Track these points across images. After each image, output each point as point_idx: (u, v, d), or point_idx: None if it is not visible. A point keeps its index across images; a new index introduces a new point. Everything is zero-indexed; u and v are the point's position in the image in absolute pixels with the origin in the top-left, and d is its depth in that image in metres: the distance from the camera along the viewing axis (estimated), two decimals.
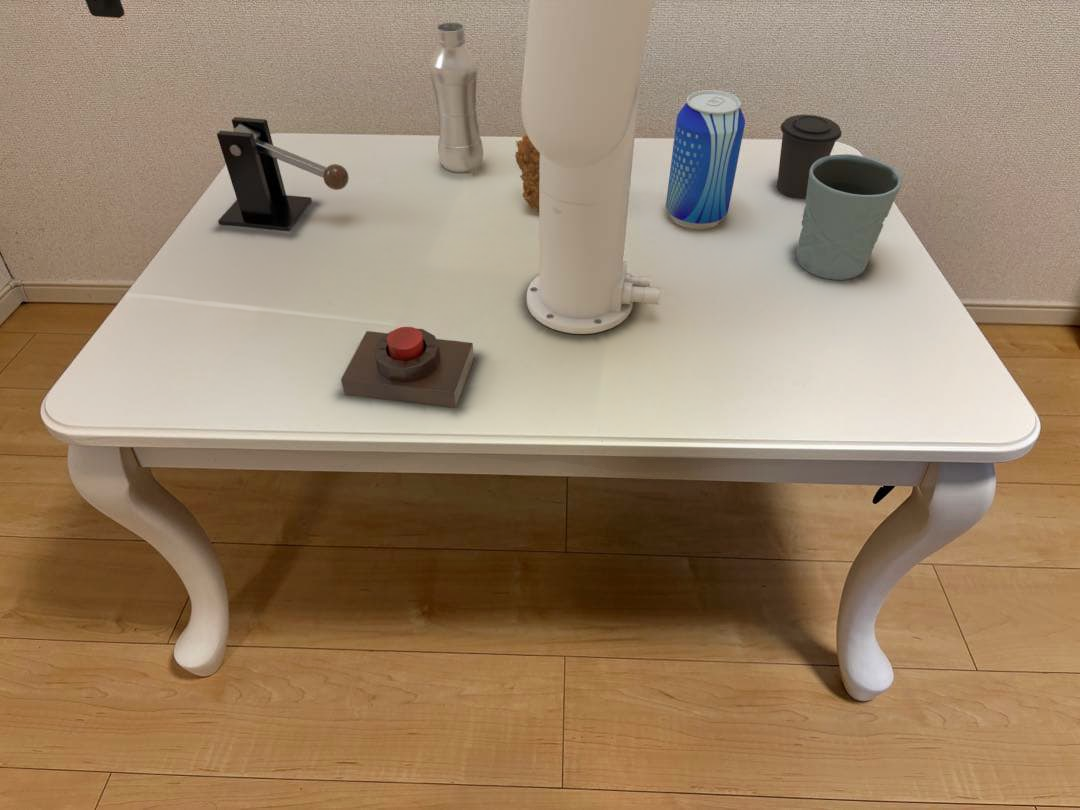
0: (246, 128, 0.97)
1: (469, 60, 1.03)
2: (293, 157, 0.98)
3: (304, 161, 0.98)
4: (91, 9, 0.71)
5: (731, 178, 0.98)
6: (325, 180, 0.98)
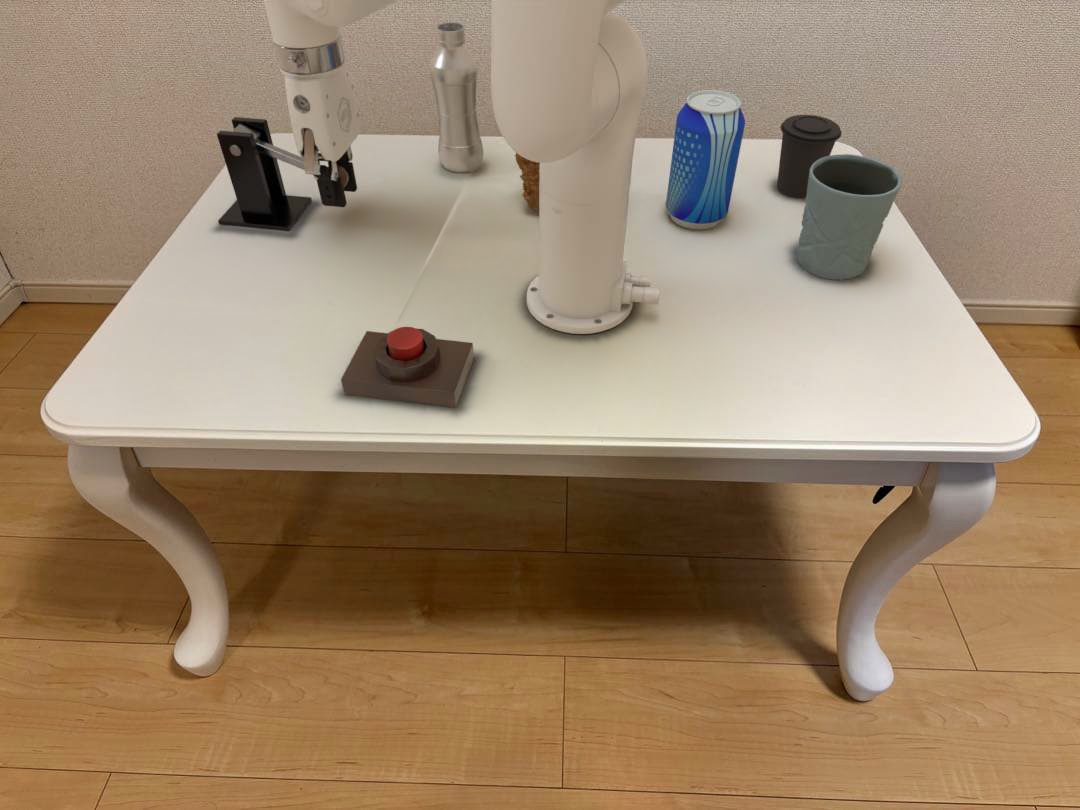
0: (246, 128, 0.97)
1: (469, 60, 1.03)
2: (293, 157, 0.98)
3: None
4: (323, 201, 0.99)
5: (731, 178, 0.98)
6: None
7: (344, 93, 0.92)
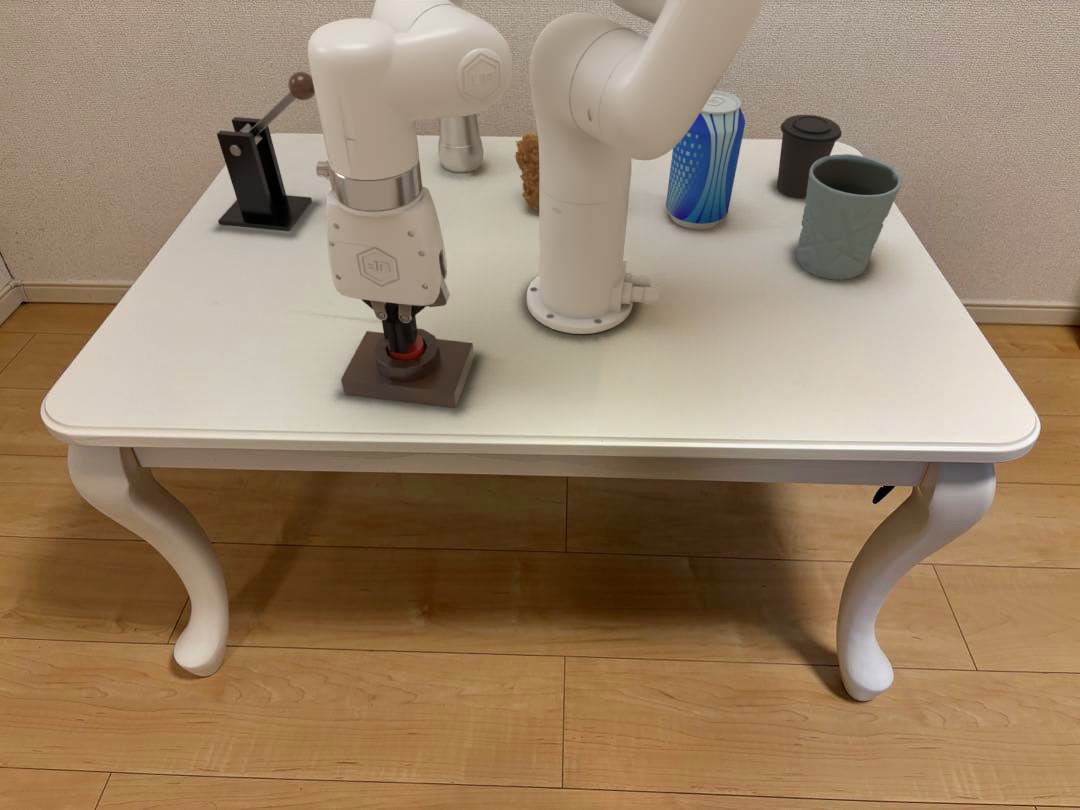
0: None
1: None
2: (270, 110, 0.93)
3: (277, 103, 0.93)
4: None
5: (731, 178, 0.98)
6: (294, 96, 0.91)
7: (386, 246, 0.67)
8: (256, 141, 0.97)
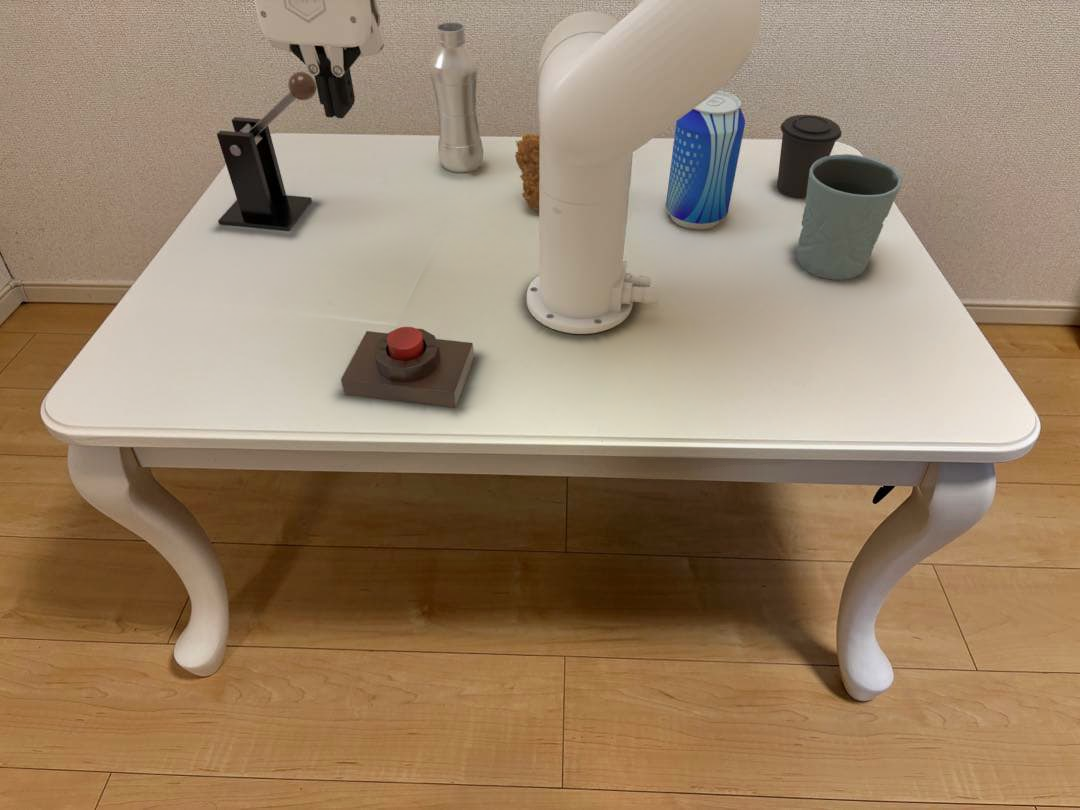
0: None
1: (469, 60, 1.03)
2: (270, 110, 0.93)
3: (277, 103, 0.93)
4: None
5: (731, 178, 0.98)
6: (294, 96, 0.91)
7: None
8: (256, 141, 0.97)
